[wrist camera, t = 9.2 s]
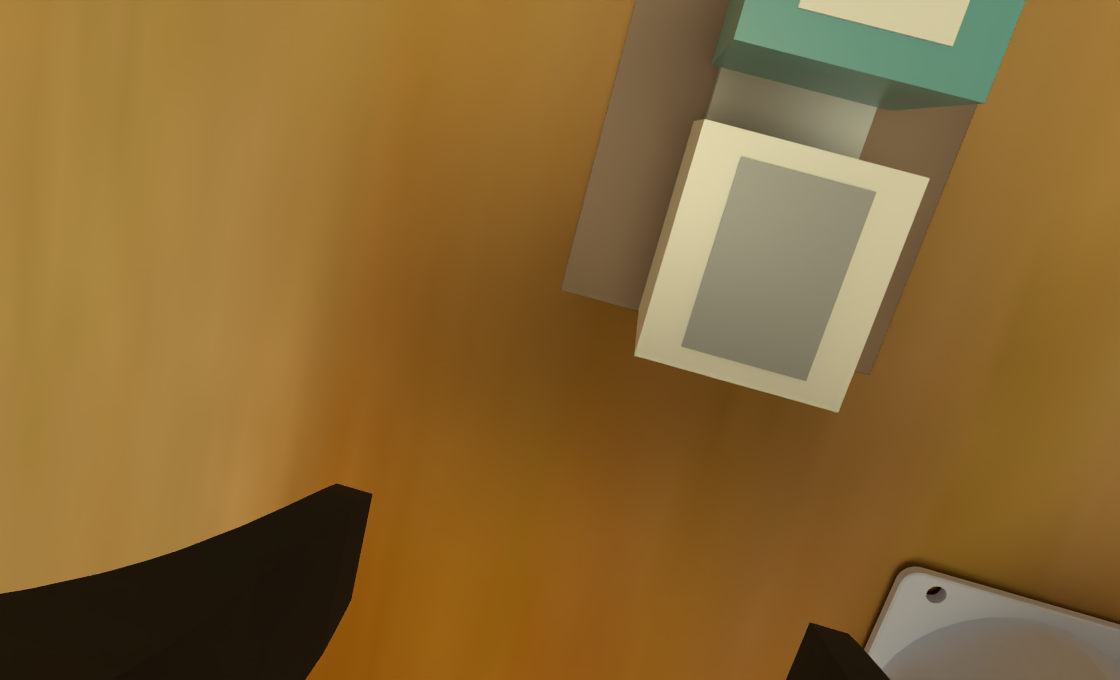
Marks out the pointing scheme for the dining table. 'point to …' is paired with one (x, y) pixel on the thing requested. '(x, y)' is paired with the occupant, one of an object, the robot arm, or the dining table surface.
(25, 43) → the dining table surface
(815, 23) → the block
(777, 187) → the mounted module
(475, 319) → the dining table surface
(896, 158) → the mounting board
